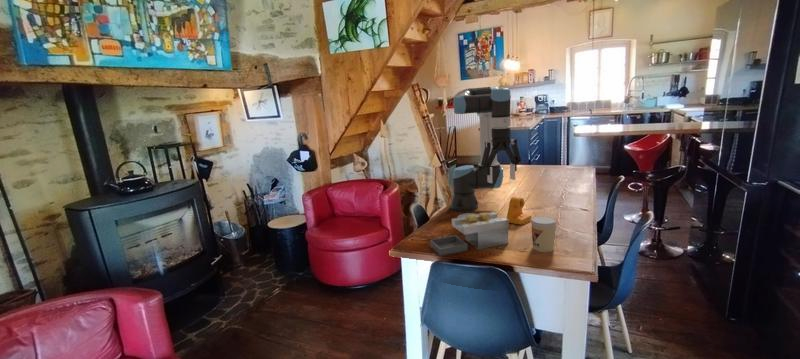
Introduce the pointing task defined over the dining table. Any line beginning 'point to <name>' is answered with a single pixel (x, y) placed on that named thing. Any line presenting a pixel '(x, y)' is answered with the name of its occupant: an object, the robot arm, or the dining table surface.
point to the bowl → (465, 215)
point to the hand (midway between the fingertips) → (501, 180)
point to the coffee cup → (543, 233)
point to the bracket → (517, 211)
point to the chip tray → (448, 245)
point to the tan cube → (484, 216)
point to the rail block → (484, 231)
